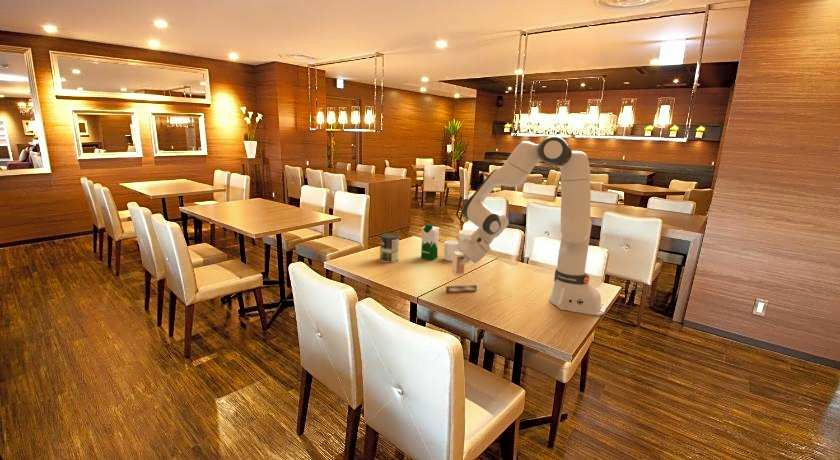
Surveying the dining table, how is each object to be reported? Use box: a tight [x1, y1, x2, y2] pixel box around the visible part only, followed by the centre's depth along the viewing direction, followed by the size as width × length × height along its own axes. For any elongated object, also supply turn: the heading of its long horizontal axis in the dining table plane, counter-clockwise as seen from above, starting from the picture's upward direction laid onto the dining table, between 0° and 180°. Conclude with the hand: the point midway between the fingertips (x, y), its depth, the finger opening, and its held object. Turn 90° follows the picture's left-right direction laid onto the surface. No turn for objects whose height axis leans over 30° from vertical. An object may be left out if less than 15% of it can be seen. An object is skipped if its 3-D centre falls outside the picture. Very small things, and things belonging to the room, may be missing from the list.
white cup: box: [443, 240, 459, 262], centre depth 218 cm, size 8×8×10 cm
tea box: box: [451, 250, 466, 277], centre depth 176 cm, size 5×4×10 cm
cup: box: [458, 229, 476, 242], centre depth 228 cm, size 12×12×14 cm
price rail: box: [445, 284, 478, 294], centre depth 173 cm, size 14×2×2 cm, turn 104°
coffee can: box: [379, 232, 400, 263], centre depth 213 cm, size 10×10×14 cm
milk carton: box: [420, 223, 440, 261], centre depth 218 cm, size 9×9×20 cm
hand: (457, 261), depth 175 cm, fingers closed on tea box, 5 cm apart
